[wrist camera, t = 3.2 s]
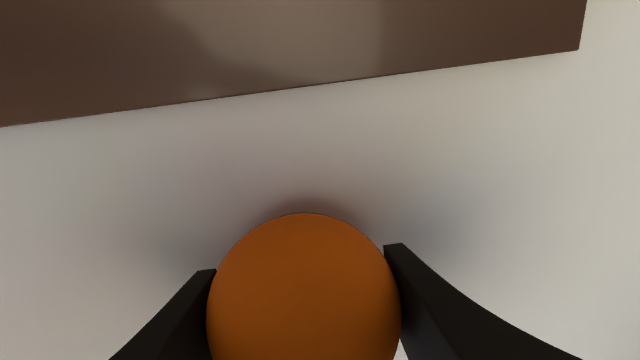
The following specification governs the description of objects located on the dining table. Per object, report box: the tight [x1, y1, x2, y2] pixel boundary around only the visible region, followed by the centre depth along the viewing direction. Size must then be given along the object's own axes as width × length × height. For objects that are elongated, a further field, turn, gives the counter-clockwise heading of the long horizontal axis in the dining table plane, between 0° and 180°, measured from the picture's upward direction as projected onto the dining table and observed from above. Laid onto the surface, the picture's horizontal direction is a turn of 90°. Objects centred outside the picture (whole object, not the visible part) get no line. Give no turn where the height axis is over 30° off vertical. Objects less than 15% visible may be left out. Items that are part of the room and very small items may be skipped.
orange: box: [206, 213, 402, 360], centre depth 10 cm, size 6×6×6 cm
